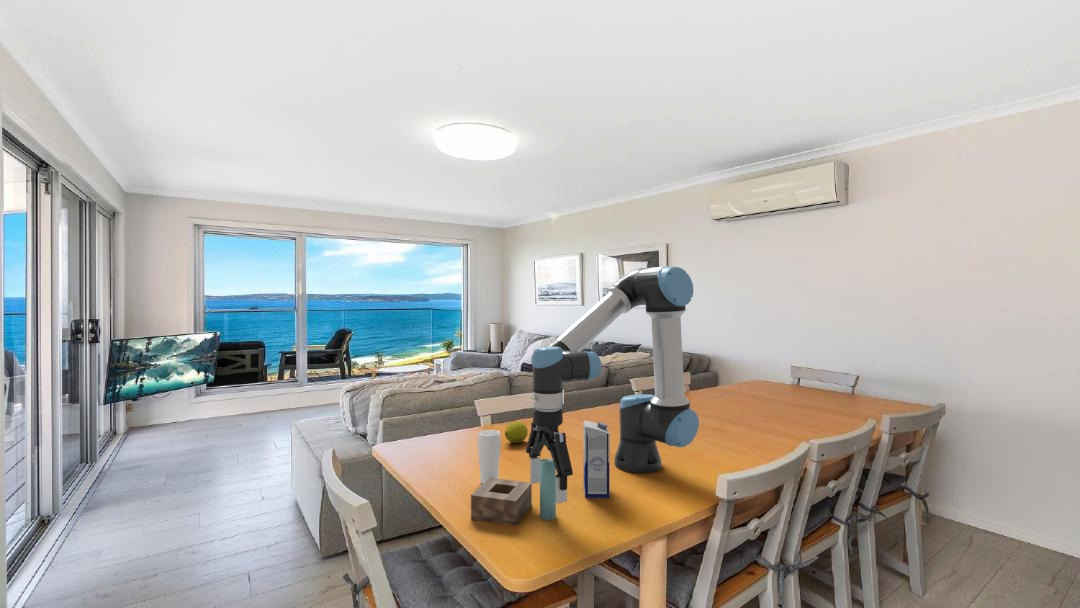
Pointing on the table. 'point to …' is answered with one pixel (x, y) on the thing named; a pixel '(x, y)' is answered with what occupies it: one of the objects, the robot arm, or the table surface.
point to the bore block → (501, 501)
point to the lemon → (516, 432)
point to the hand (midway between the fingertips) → (547, 492)
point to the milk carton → (596, 460)
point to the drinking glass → (489, 454)
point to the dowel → (547, 489)
